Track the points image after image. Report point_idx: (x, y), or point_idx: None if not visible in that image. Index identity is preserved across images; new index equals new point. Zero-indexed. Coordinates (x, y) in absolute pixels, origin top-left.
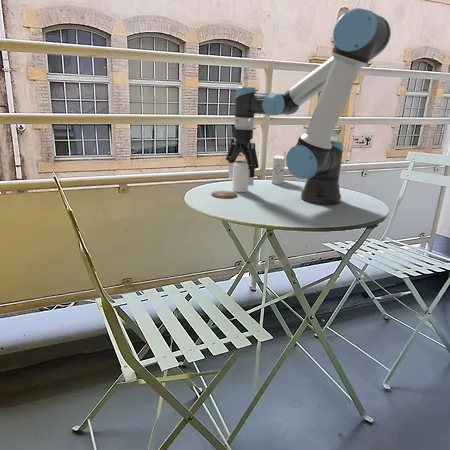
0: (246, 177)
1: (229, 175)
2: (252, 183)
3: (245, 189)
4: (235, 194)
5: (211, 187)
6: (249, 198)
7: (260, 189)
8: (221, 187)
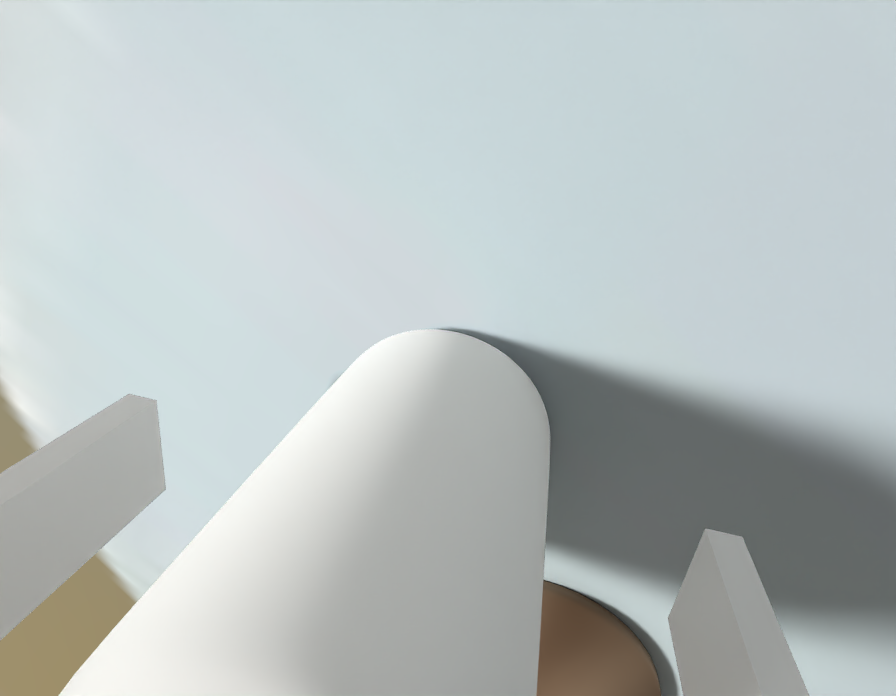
0: (541, 599)
1: (125, 522)
2: (744, 574)
3: (549, 456)
4: (614, 650)
5: (178, 549)
6: (814, 606)
7: (536, 64)
8: (207, 473)
